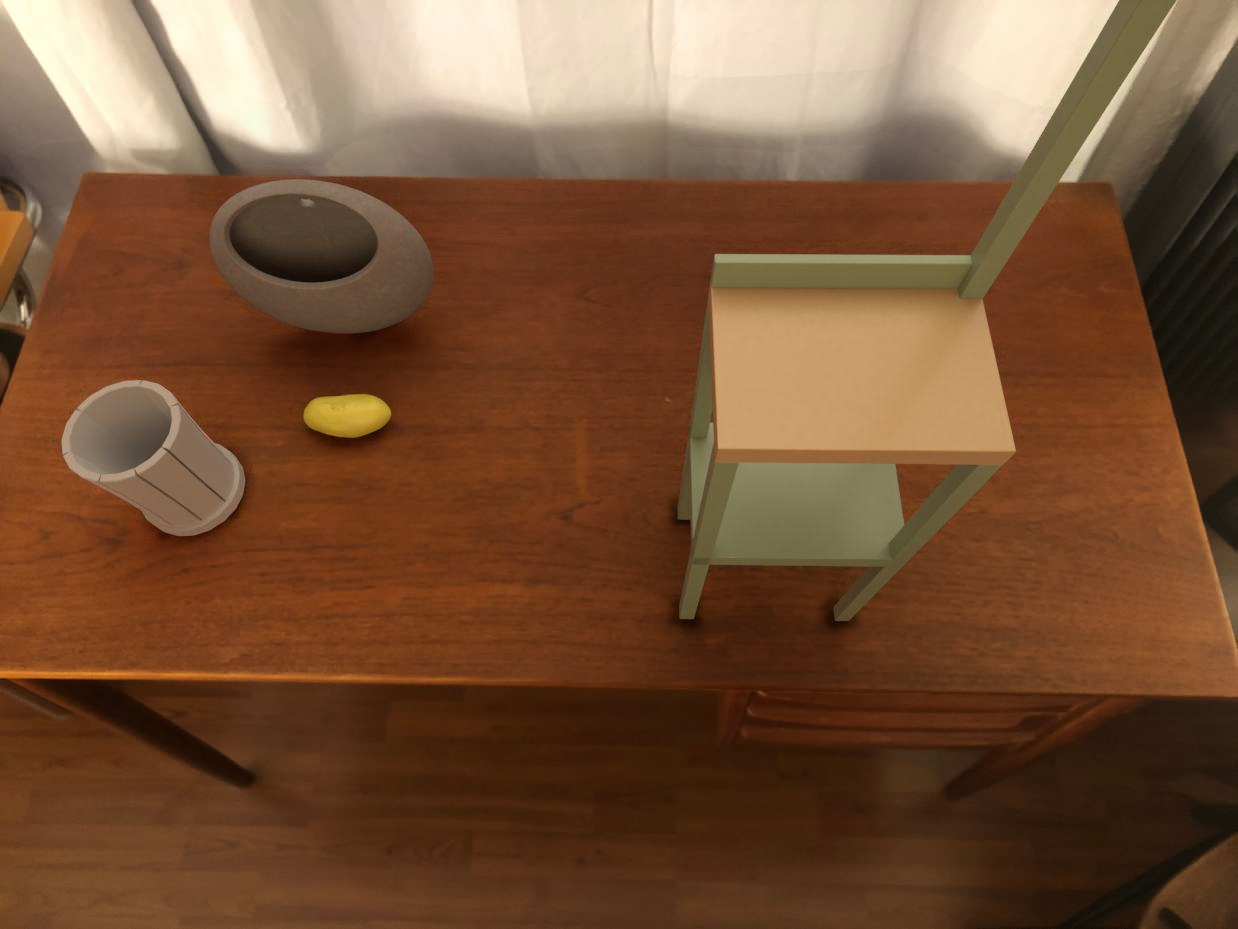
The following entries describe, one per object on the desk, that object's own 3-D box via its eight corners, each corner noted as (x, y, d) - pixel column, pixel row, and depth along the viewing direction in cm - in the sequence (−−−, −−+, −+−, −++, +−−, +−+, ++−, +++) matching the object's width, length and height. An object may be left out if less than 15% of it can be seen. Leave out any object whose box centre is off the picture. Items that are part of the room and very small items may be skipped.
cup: (111, 508, 71) (17, 447, 60) (175, 425, 74) (98, 354, 64) (207, 553, 69) (129, 499, 58) (268, 466, 72) (205, 400, 62)
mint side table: (849, 621, 66) (1528, -65, 16) (679, 619, 66) (832, -64, 16) (836, 509, 70) (1343, -306, 20) (677, 507, 70) (794, -303, 21)
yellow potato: (316, 403, 75) (300, 382, 72) (399, 407, 75) (388, 385, 71) (306, 443, 73) (290, 423, 70) (392, 446, 73) (380, 426, 70)
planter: (260, 362, 77) (156, 226, 60) (269, 302, 80) (173, 158, 63) (451, 350, 78) (401, 212, 61) (453, 291, 81) (406, 144, 64)
